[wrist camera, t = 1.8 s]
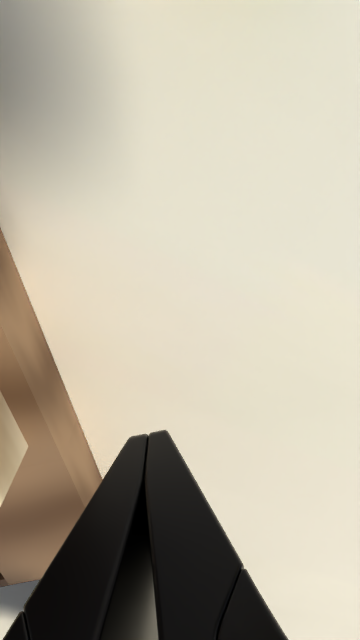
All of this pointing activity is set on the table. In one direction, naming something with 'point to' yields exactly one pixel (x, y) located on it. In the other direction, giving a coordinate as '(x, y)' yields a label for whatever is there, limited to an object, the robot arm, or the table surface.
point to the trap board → (37, 441)
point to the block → (9, 448)
